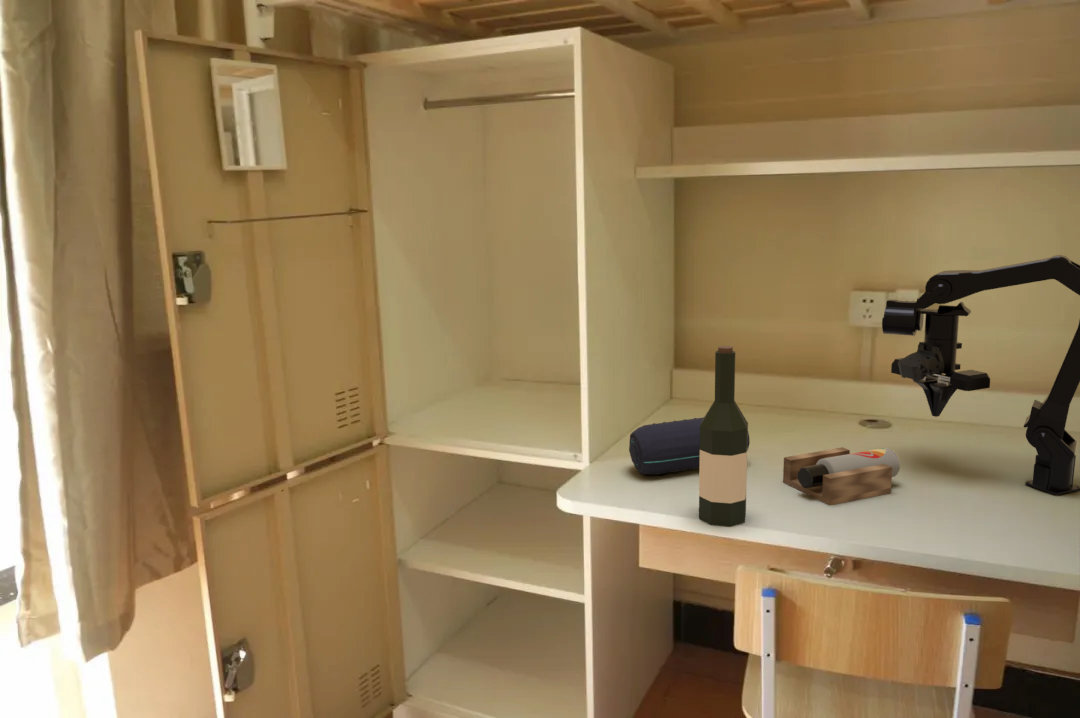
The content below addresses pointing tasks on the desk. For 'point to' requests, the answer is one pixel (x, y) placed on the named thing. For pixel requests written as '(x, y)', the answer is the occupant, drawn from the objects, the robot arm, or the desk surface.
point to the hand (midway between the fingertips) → (935, 416)
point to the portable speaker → (667, 446)
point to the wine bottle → (723, 450)
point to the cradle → (839, 478)
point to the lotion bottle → (847, 465)
